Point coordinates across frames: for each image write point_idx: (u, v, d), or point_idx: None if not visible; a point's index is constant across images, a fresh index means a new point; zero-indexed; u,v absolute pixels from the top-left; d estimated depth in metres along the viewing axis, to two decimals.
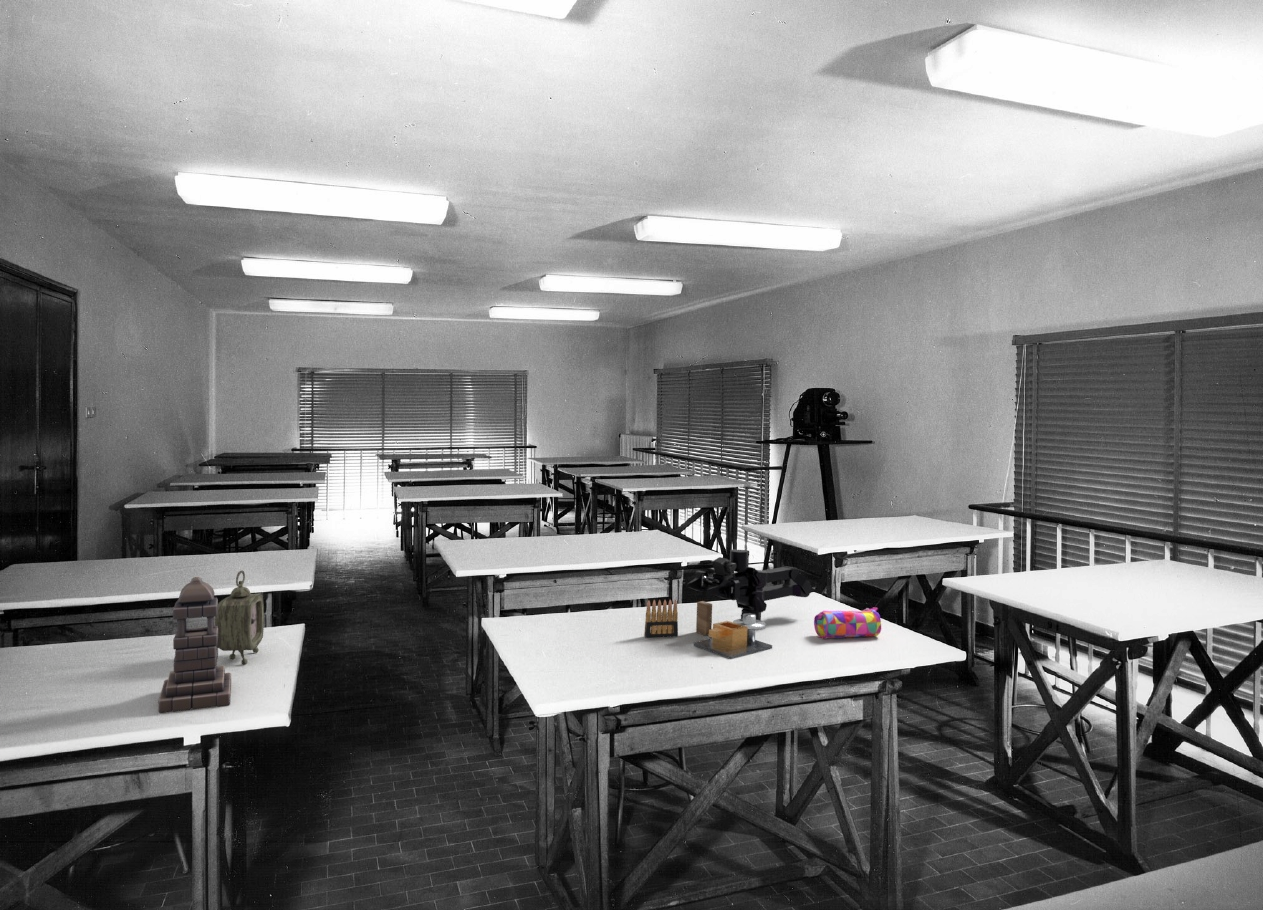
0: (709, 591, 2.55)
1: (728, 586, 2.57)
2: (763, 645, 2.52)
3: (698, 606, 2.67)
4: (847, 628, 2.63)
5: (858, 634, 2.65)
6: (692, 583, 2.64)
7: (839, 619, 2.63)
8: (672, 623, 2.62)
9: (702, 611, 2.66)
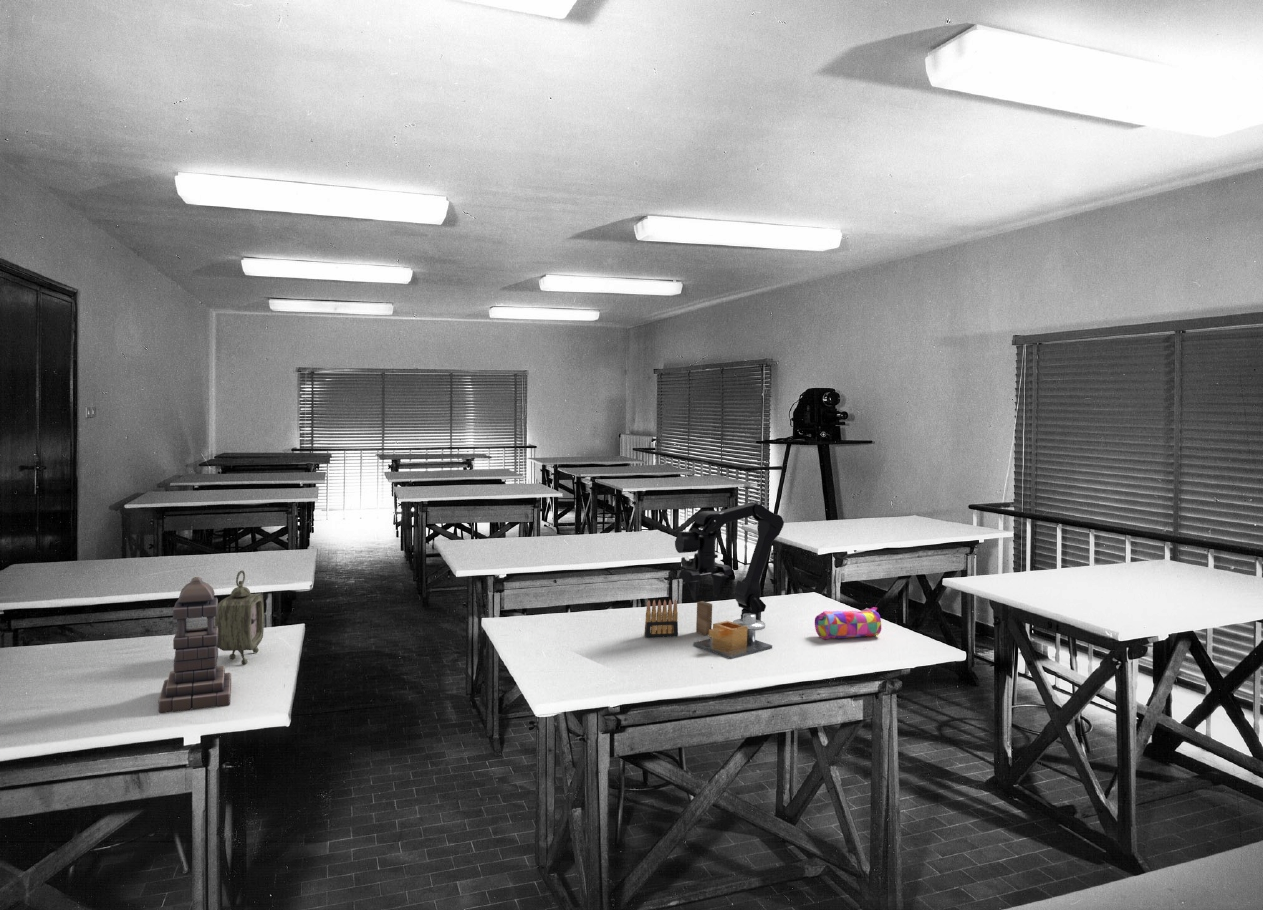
0: (694, 599, 2.64)
1: None
2: (763, 645, 2.52)
3: (698, 606, 2.67)
4: (848, 628, 2.63)
5: (858, 634, 2.65)
6: (714, 589, 2.70)
7: (840, 620, 2.63)
8: (672, 623, 2.62)
9: (702, 611, 2.66)
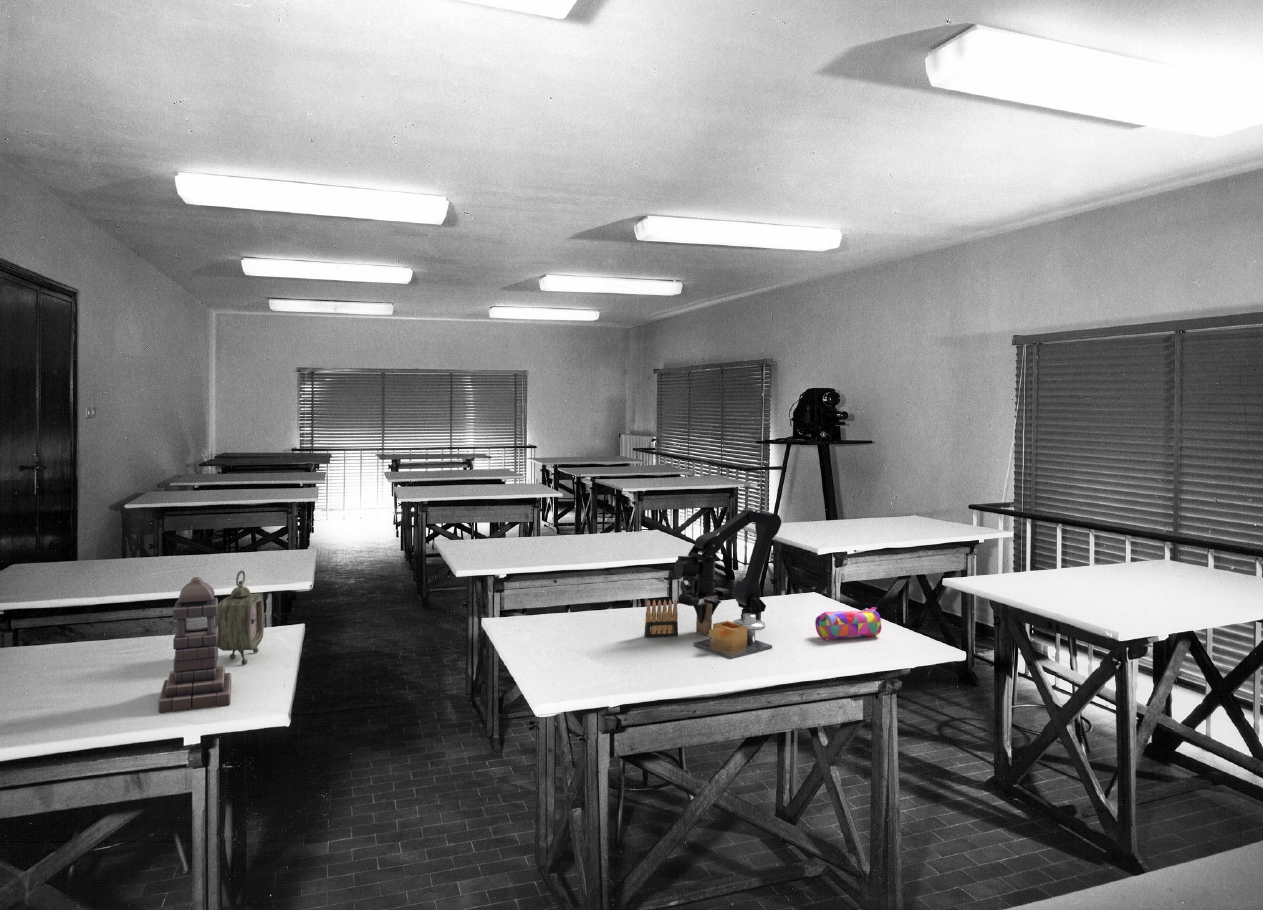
0: (700, 621, 2.66)
1: None
2: (763, 645, 2.52)
3: None
4: (850, 629, 2.63)
5: (859, 634, 2.65)
6: None
7: (841, 620, 2.62)
8: (672, 623, 2.62)
9: None
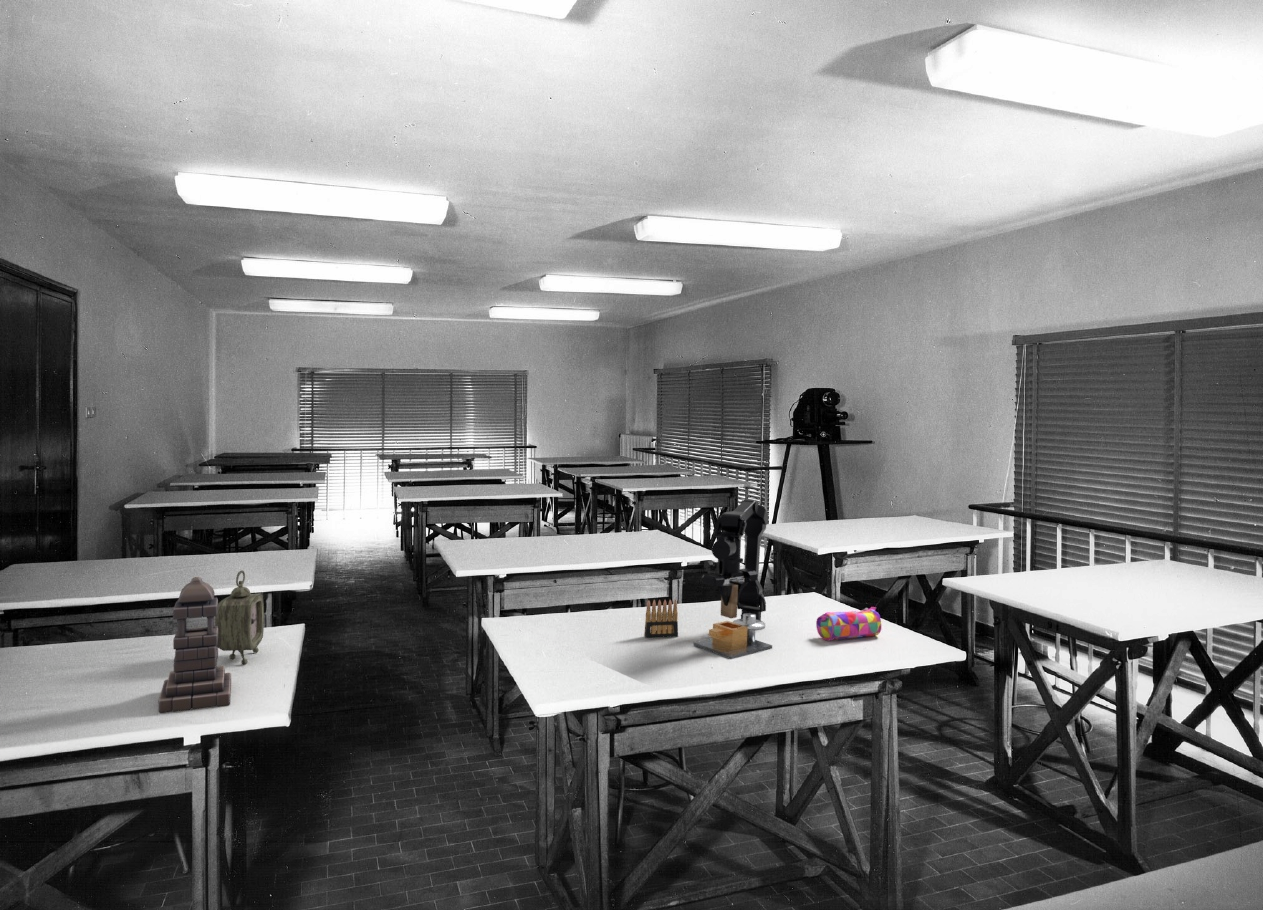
0: (725, 604, 2.51)
1: None
2: (763, 645, 2.52)
3: None
4: (851, 629, 2.62)
5: (860, 635, 2.65)
6: None
7: (843, 621, 2.62)
8: (672, 623, 2.62)
9: None
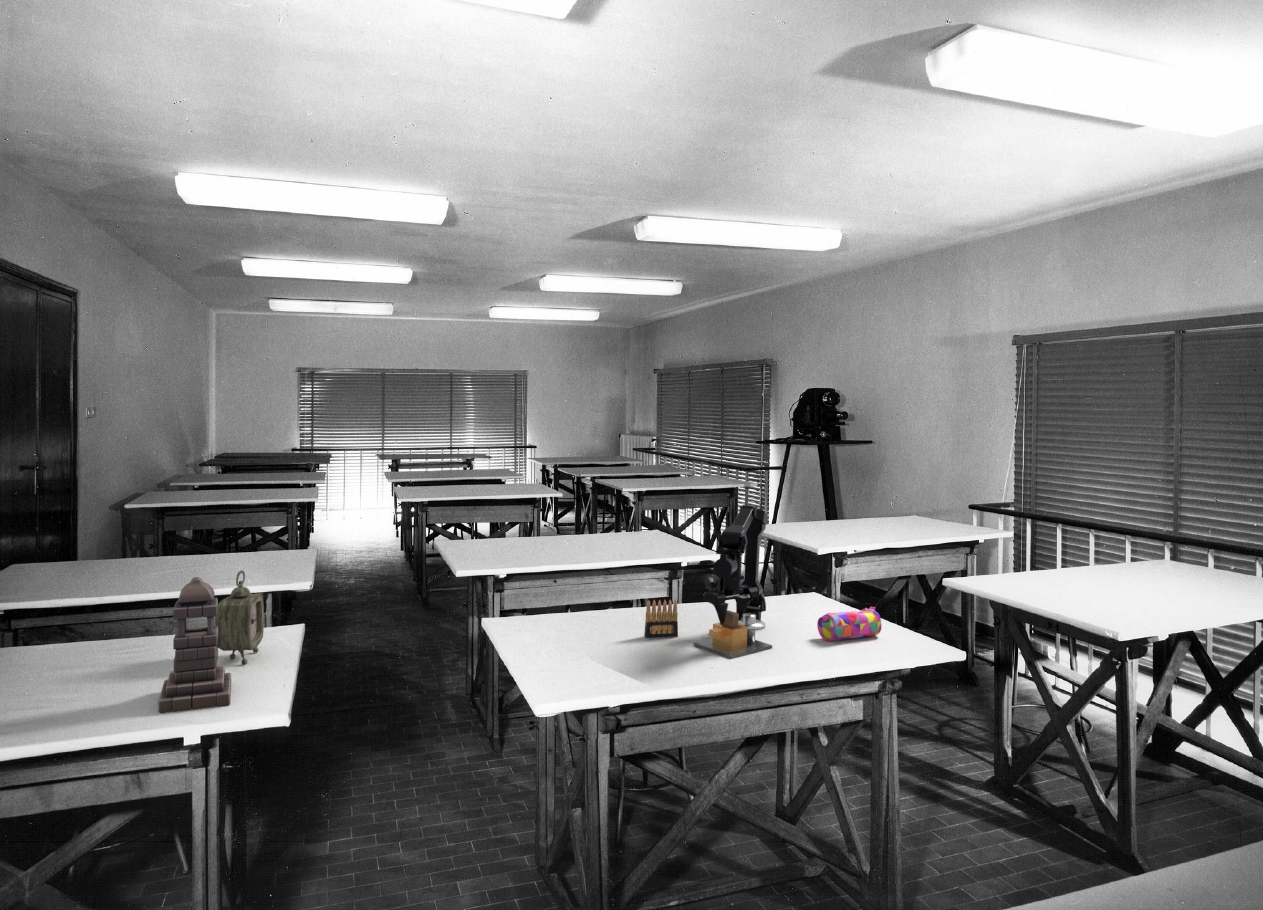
0: (721, 622, 2.49)
1: None
2: (763, 645, 2.52)
3: None
4: (852, 629, 2.62)
5: (861, 635, 2.65)
6: None
7: (844, 621, 2.61)
8: (672, 623, 2.62)
9: (728, 621, 2.51)
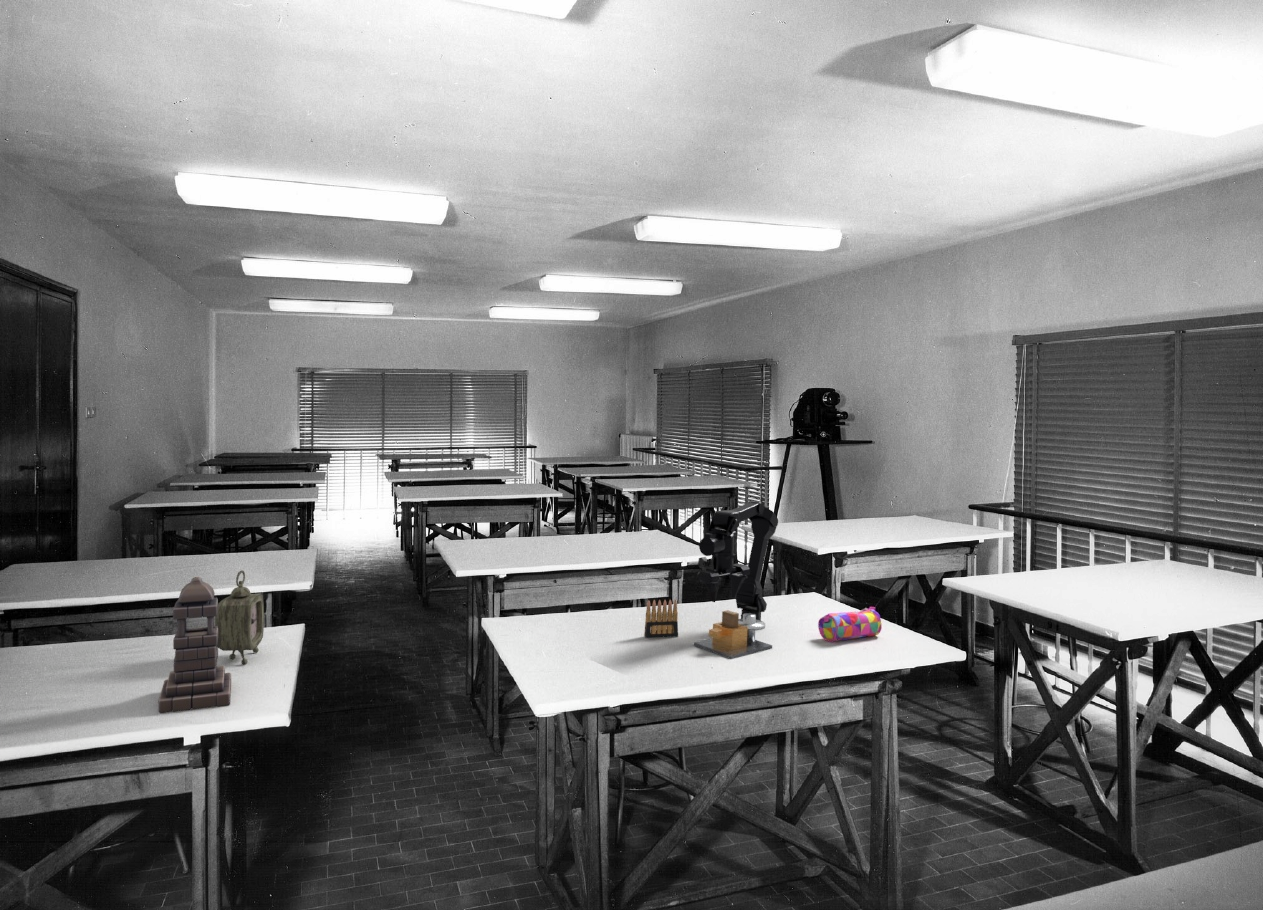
0: (713, 600, 2.58)
1: None
2: (763, 645, 2.52)
3: (723, 616, 2.52)
4: (853, 629, 2.62)
5: (861, 635, 2.64)
6: (732, 590, 2.64)
7: (846, 621, 2.61)
8: (672, 623, 2.62)
9: (728, 621, 2.51)
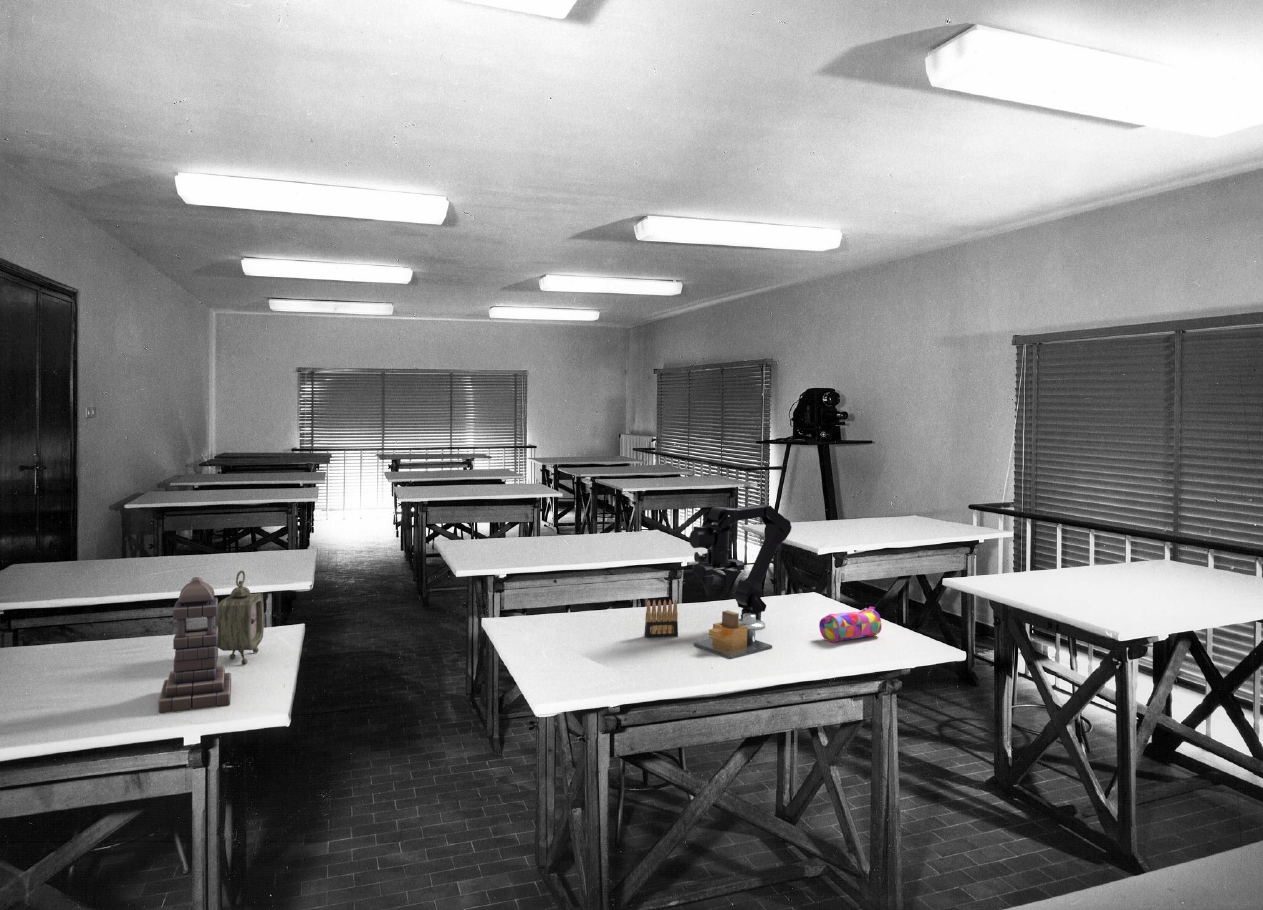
0: (707, 593, 2.64)
1: None
2: (763, 645, 2.52)
3: (723, 616, 2.52)
4: (854, 630, 2.62)
5: (862, 635, 2.64)
6: (727, 584, 2.71)
7: (847, 622, 2.61)
8: (672, 623, 2.62)
9: (728, 621, 2.51)
